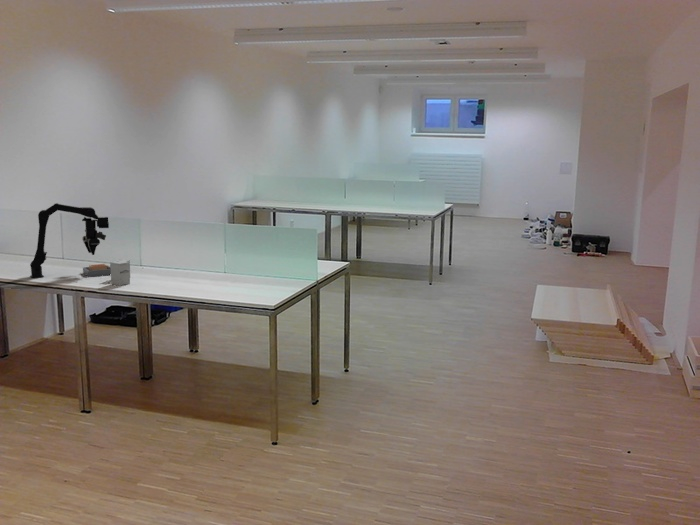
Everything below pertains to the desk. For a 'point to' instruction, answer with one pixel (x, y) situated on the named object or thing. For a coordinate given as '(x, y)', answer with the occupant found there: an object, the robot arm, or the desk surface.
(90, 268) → the small crate
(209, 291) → the desk surface
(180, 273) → the desk surface
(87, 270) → the big crate
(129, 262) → the light bulb box
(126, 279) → the supplement box
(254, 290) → the desk surface
